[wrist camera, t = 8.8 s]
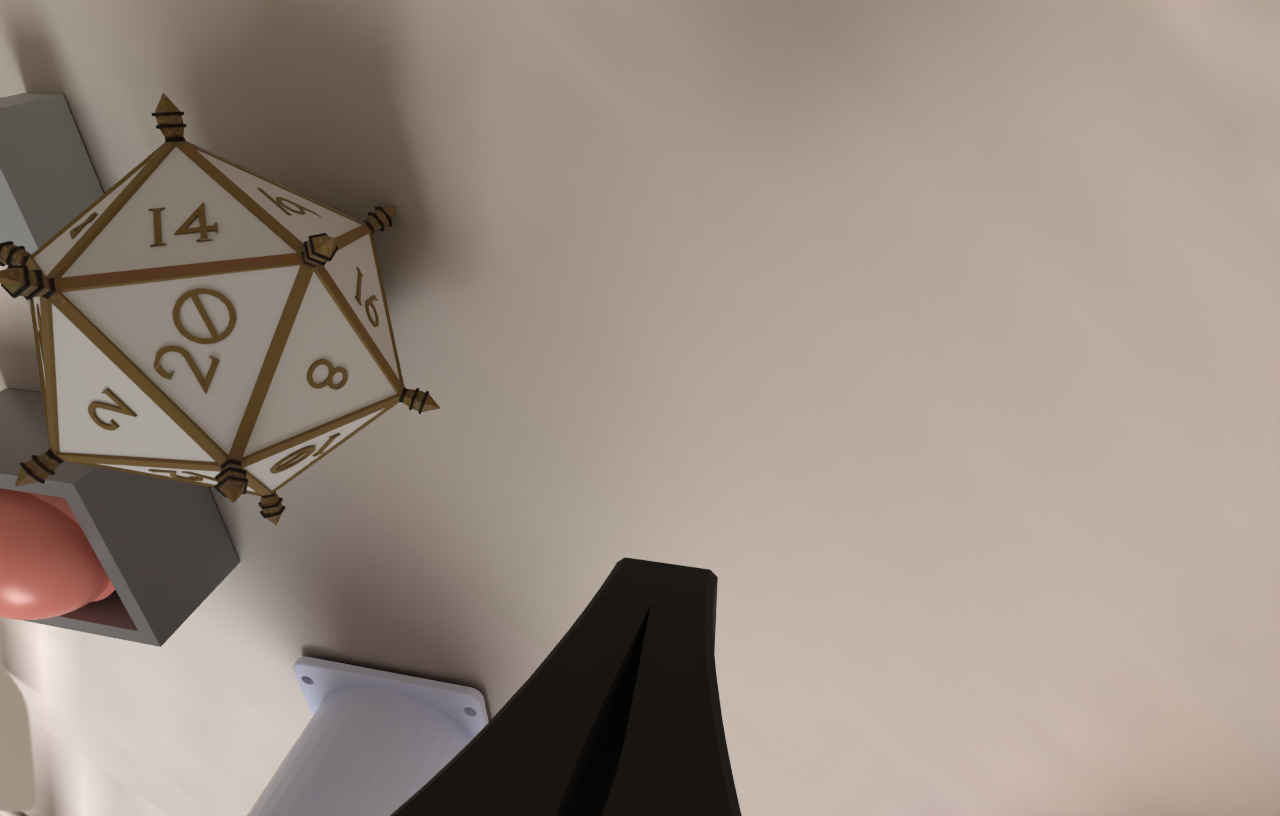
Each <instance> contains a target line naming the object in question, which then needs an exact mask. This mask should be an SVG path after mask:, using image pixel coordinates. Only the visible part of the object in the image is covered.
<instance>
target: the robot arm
mask: <svg viewBox="0 0 1280 816" xmlns="http://www.w3.org/2000/svg"><path fill="white" fill-rule="evenodd" d="M717 579H718V577H717V576H716V575H715V574H714V573H713V572H712V571H711V570H708V569H701V568H694V567H687V566H680V565H673V564H667V563H660V562H653V561H646V560H639V559H632V558H623V559H622V560H620V561H619V562H617V564H616V565H615V567H614V568H613V570H612V571H611V573H610V574H609V576H608V577H607V579H606V580H605V582H604V583H603V585H602V586H601V588H600V589H599V590H598V592H597V593H596V595H595V596H594V597H593V599H592V600H591V602H590V603H589V604H588V606H587V607H586V608H585V610H584V611H583V612H582V614H581V615H580V616H579V618H578V619H577V620H576V622H575V623H574V624H573V625H572V627H571V628H570V629H569V631H568V632H567V633H566V634H565V636H564V637H563V638H562V639H561V640H560V642H559V643H558V644H557V645H556V647H555V648H554V649H553V650H552V651H551V653H550V654H549V655H548V656H547V658H546V659H545V660H544V661H543V662H542V664H541V665H540V666H539V667H538V668H537V670H536V671H535V672H534V673H533V674H532V675H531V677H530V678H529V679H528V680H527V681H526V682H525V683H524V685H523V686H522V687H521V688H520V689H519V690H518V691H517V692H516V693H515V694H514V695H513V697H512V698H511V699H510V700H509V701H508V702H507V703H506V704H505V705H504V706H503V707H502V709H501V710H500V711H499V712H498V713H497V714H496V715H495V716H494V717H493V718H492V719H491V721H490V722H489V721H488V716H487V711H486V706H485V702H484V698H483V695H482V694H481V693H480V692H479V691H478V690H476V689H475V688H472V687H467V686H462V685H456V684H451V683H445V682H440V681H435V680H429V679H424V678H419V677H413V676H408V675H403V674H397V673H392V672H387V671H381V670H376V669H370V668H365V667H360V666H354V665H349V664H344V663H338V662H333V661H328V660H322V659H317V658H311V657H300V658H299V659H298V660H297V662H296V663H295V664H294V671H295V673H296V676H297V678H298V681H299V683H300V686H301V688H302V691H303V693H304V695H305V698H306V700H307V703H308V705H309V708H310V710H311V713H312V715H313V717H312V719H311V720H310V722H309V723H308V725H307V726H306V728H305V729H304V731H303V732H302V734H301V735H300V737H299V738H298V740H297V741H296V743H295V744H294V746H293V747H292V749H291V750H290V752H289V753H288V755H287V756H286V758H285V759H284V761H283V762H282V764H281V765H280V767H279V768H278V770H277V771H276V773H275V774H274V776H273V777H272V779H271V780H270V782H269V783H268V785H267V786H266V788H265V789H264V791H263V792H262V794H261V795H260V797H259V798H258V800H257V801H256V803H255V804H254V806H253V807H252V809H251V810H250V812H249V813H248V815H247V816H741V811H740V807H739V803H738V798H737V794H736V789H735V785H734V780H733V775H732V770H731V765H730V760H729V755H728V750H727V745H726V739H725V733H724V727H723V721H722V715H721V707H720V700H719V692H718V685H717V677H716V668H715V657H714V648H715V625H716V602H717Z"/></svg>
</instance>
